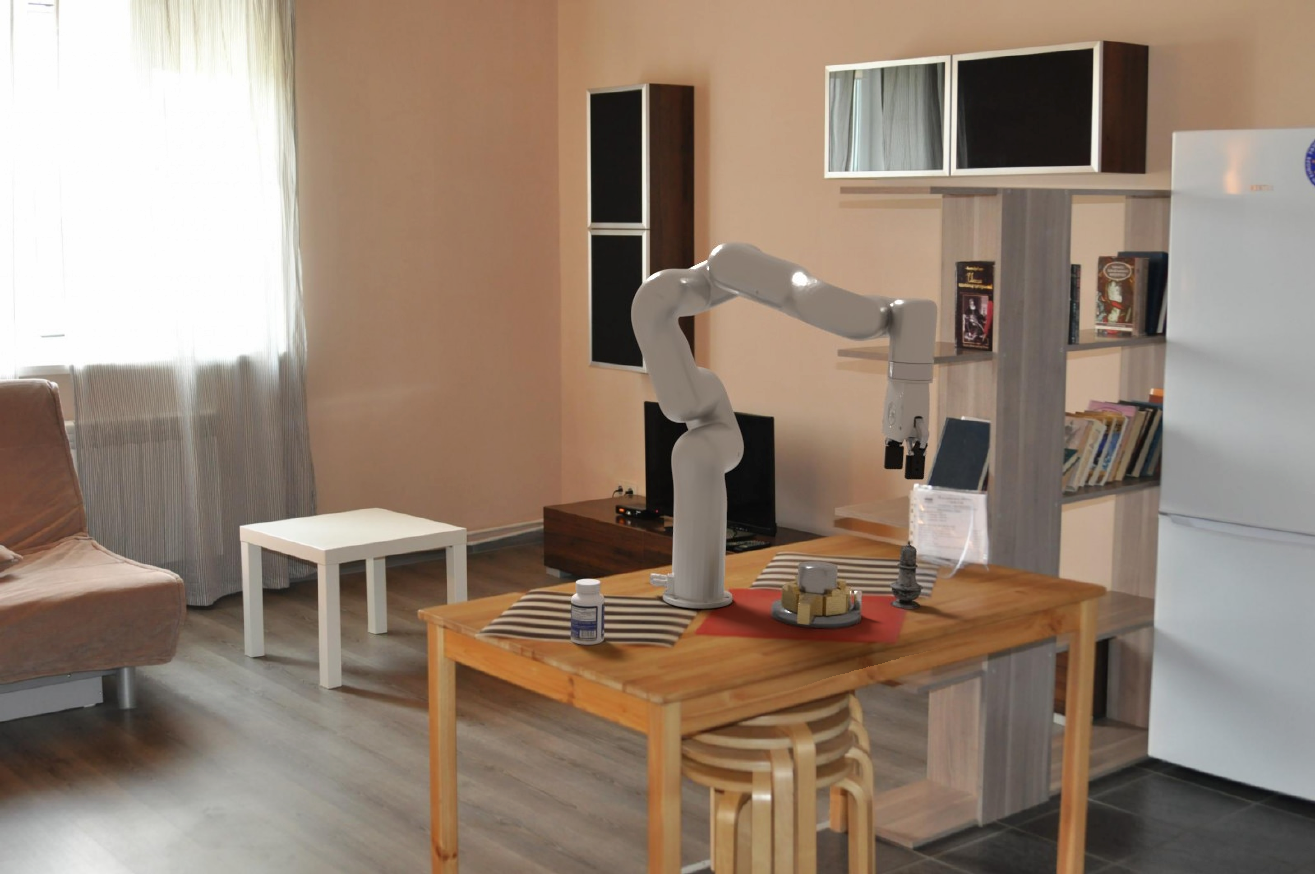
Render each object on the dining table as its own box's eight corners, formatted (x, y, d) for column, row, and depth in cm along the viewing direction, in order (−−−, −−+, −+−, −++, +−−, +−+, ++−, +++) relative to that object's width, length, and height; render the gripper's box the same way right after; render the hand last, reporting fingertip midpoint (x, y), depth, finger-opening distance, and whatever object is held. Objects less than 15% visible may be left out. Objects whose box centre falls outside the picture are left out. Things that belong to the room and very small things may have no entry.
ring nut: (789, 594, 239) (790, 572, 239) (854, 601, 236) (855, 578, 235) (768, 620, 222) (769, 596, 222) (837, 627, 219) (839, 603, 218)
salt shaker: (921, 610, 238) (925, 545, 237) (888, 607, 239) (892, 542, 238) (922, 602, 244) (925, 538, 242) (889, 599, 245) (893, 536, 243)
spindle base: (762, 622, 227) (764, 571, 226) (780, 600, 242) (782, 552, 241) (853, 632, 223) (856, 580, 222) (866, 609, 238) (869, 560, 236)
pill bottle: (586, 634, 218) (587, 575, 216) (610, 640, 214) (612, 581, 213) (563, 640, 214) (564, 581, 212) (588, 647, 210) (589, 587, 209)
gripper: (871, 367, 229) (865, 465, 231) (907, 377, 212) (900, 483, 215) (912, 368, 230) (906, 465, 233) (951, 378, 213) (944, 483, 216)
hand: (903, 474), depth 224 cm, fingers open, 9 cm apart
